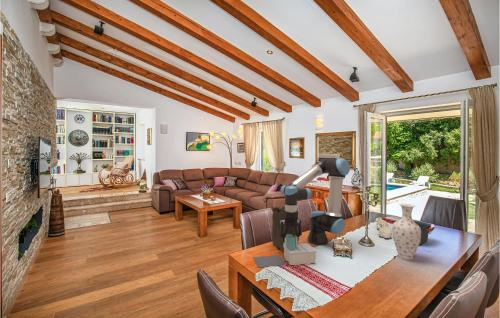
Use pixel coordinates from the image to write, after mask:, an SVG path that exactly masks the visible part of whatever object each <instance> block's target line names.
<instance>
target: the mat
mask: <svg viewBox="0 0 500 318" xmlns="http://www.w3.org/2000/svg"><path fill="white" fill-rule="evenodd" d="M252 258H253V260H254V262H255V264H256V267H257V269H259V268H261V269H262V268H270V267H269V266H274V267H281V266H280V265H285V263H286V260H284V259H283V258H282V256H281V254H273V255H262V256H260V255H259V256H253V257H252ZM285 266H286V265H285Z"/></svg>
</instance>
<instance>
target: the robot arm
mask: <svg viewBox="0 0 500 318" xmlns="http://www.w3.org/2000/svg"><path fill="white" fill-rule="evenodd" d="M350 167H351V166H350V164H349V162H348V160H347V159H345V158H340V157H339V158H334V157H333V158H332V157H331V158H330V157H329V158H328V157H327V158H322V159H321V160H319V161H316V162H315V163H314V164H313V165H312V166H311V168H309V169H308V170H306V172H304V173H303V174H301V175H300V176H299V177H298V178H296V179H295V180H293V181H292V182H291V183H289V184H287V185H286V184H284V185H282V186H281V187H280V194H281V195H282V196H284V207H285V219H284V220H282V221H281V220H280V232H279V236H280V237H282V242H283V247H284V248H286V237H285V236H286V233H287V230H288V228H289V226H293V228H294V231H295V234H296V236H295V247H297V242H298V243H299V242H300V237H301V236H302V235H303V234H302V221H303V220H301V219H300V218H298V219H297V212H296V211H298V202H299V201H306V200H309V199H311V198H312V190H311V189H310V188H308V187H306V186H307V185H308V184H309V183H310V182H312V181H313V180H315V179H316V178H317V177H319V176H322V175H324V174H328V178H330V179H329V189H328V191H329V192H328V204H327V211H323V210H315V211H311V212H310V213H309V214H310V215H309V232H308V235H307V243H309V244H312V245H316V246H317V245H318V246H324V245H327V244H328V243H329V241H328V239H329V238H328V236H327V232H328V233H330V234H332V235H338V236H339V235H340V234H342V233H343V232H344V231H345V228H346V221H345V220H344V219H343V215H342V213H341V208H342V207H341V206H342V195H343V183H344V182H343V181H344V179H346V176H347V175H348V174H349V173H350V169H351V168H350ZM284 222H285V223H286V224H285V228H284V231H283V226H284V225H283V224H284ZM296 222H297V223H298V231H297V228H296Z"/></svg>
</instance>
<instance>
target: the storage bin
mask: <svg viewBox="0 0 500 318" xmlns="http://www.w3.org/2000/svg"><path fill="white" fill-rule="evenodd" d="M413 221H414V222H415V223H416V224H417V225H419V227H420V228H421V239H420V243H419V246H421V245H422V244H424V243H427V242H428V240H429V239H428V238H429V235H430V234H432V226H433V224H432V223H429V222H425V221H420V220H413Z"/></svg>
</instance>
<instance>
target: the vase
mask: <svg viewBox="0 0 500 318" xmlns="http://www.w3.org/2000/svg"><path fill="white" fill-rule="evenodd" d="M399 206H400V208H401V211H402V215H401V218H400V219H399V220H397V221H394V223H393V224H392V229H391V230H392V239H393V241H394V246H395V248H396V251H397V257H398V258H399V259H401V260H405V261H414V257H415V255H416V253H417V251H418V248H419V246H420V245H419V243H420V239H421V228H420V227H419V225H417V224H416V223H415V222H414V221H415V220H413V217H412V212H413V209H414V208H416V205H414V204H410V203H399Z"/></svg>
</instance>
